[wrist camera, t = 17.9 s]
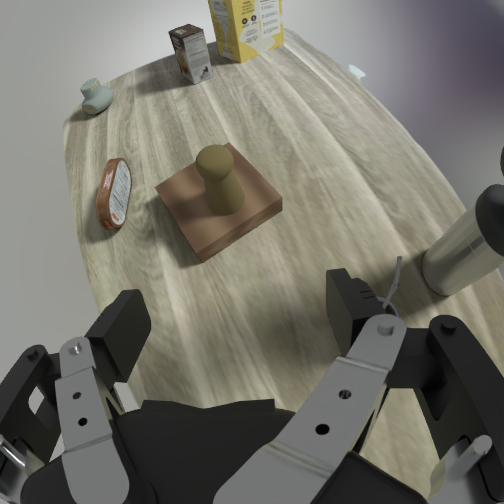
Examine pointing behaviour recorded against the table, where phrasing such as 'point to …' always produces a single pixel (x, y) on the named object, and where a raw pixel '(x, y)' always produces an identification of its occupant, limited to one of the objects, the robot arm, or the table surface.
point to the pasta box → (246, 27)
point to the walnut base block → (209, 223)
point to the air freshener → (96, 96)
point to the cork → (220, 179)
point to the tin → (114, 194)
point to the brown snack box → (191, 53)
